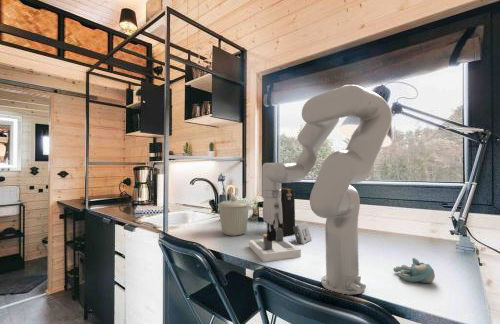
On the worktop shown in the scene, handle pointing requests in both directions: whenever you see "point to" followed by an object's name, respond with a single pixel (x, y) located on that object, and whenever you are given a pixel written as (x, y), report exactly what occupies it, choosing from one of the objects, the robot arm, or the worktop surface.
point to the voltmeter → (287, 211)
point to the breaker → (279, 234)
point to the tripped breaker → (267, 242)
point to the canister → (234, 216)
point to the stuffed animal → (416, 272)
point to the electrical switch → (302, 233)
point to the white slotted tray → (275, 250)
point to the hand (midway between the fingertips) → (271, 240)
